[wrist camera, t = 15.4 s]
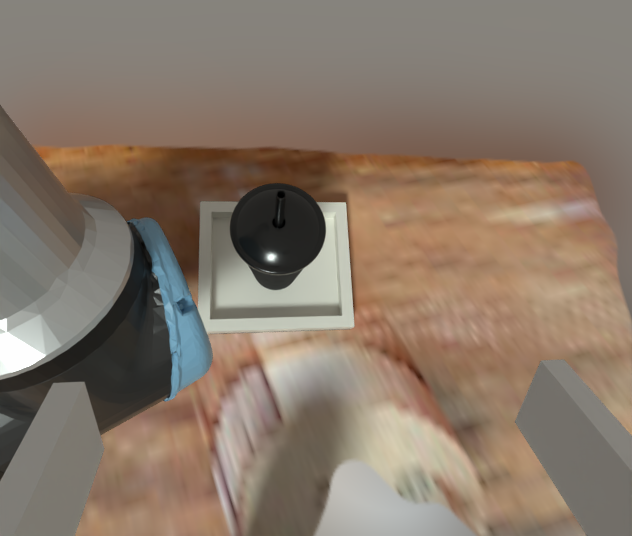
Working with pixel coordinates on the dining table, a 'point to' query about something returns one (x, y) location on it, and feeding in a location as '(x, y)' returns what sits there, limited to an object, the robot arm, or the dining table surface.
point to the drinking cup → (277, 233)
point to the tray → (264, 304)
